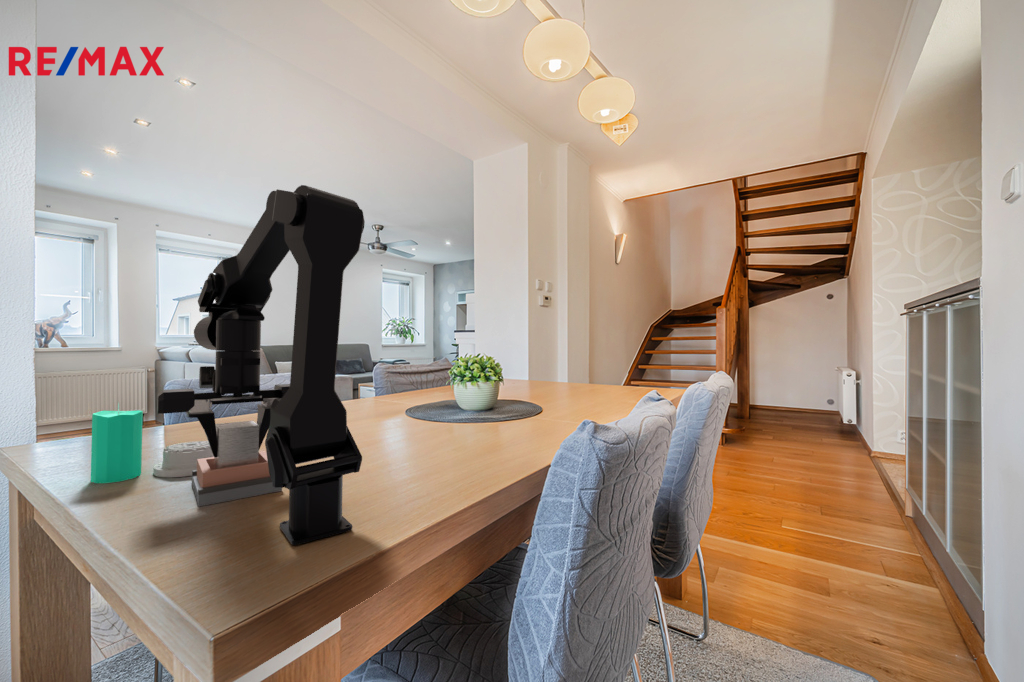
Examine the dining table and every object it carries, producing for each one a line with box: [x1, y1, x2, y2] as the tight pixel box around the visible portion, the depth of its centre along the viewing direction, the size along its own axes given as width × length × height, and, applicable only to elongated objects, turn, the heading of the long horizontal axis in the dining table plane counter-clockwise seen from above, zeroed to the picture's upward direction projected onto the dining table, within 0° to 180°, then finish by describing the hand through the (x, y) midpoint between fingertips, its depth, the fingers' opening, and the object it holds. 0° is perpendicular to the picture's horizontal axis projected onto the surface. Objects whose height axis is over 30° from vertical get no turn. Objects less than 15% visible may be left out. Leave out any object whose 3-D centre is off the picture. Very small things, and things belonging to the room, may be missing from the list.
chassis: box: [191, 450, 283, 507], centre depth 64 cm, size 12×10×4 cm
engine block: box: [214, 420, 260, 469], centre depth 64 cm, size 5×5×6 cm
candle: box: [90, 402, 144, 484], centre depth 68 cm, size 6×6×12 cm
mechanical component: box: [152, 440, 214, 478], centre depth 73 cm, size 10×4×10 cm
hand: (236, 454), depth 64 cm, fingers closed on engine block, 5 cm apart
